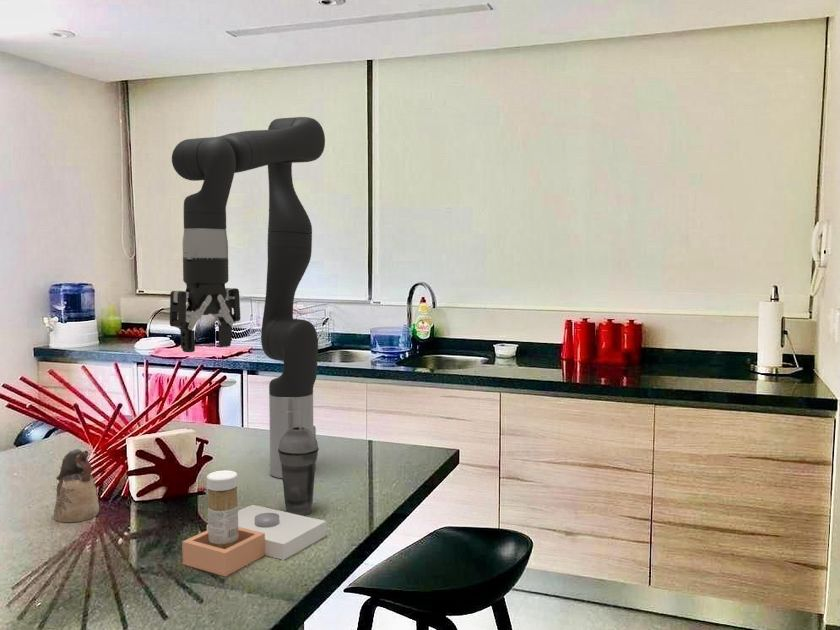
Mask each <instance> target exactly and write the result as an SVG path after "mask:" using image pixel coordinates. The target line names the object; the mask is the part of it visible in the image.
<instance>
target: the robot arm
mask: <svg viewBox="0 0 840 630" xmlns="http://www.w3.org/2000/svg"><path fill="white" fill-rule="evenodd" d="M325 147H326V137H325V131H324V129H323V127H322V125H321V123H320V122H319V121H318V120H316V119H314V118H313V117H308V116H295V117H282V118H281V117H280V118H275V119H273V120H272V121H271V122H270V124H269V126H268V128H267V129H259V130H258V129H257V130H255V129H254V130H243V131H237V132H233V133H232V132H231V133H227V134H224V135H220V136H213V137H212V136H210V137H197V138H189V139H188V138H186V139H184V140H182V141H180V142H179V143H178V144H177V145H176V146H175V147H174V149H173V150H172V154H171V164H172V167H173V169H174V171H175V172H176V173H177V175H178V176H180V177H182V178H183V179H185V180H186V181H187V180H188V181H197V182H198V181H203V183H202V186H201V188H200V190H199V191H197V192H196V193H193V194H192V193H191V194H189V195H188V196H186V197H185V199H184V201H183V236H182V237H183V238H182V276H183V277H182V281H183V283H185V286H186V289H185V291H184V290H171V291H170V296H169V297H170V298H169V325H170V327H174V328H177V329H179V331H180V346H181V347H180V348H181V349H182V352H184V353H194V352H195V351H196V349H195V348H196V343H195V342H196V339H195V335H196V333H195V330H194V328H195V326H196V324H197V322H198V321H199V320H201V319H202V317H203V316H207V315H211V316H213V317H215V319H216V320H217V323H218V324H219V325H218V346H219V347H223V348H227V347H230V346H231V344H232V337H233V335H232V332H233V331H232V330H233V329H232V327H233V325H234V323H236V322H240V321H241V304H240V303H241V302H240V291H239V288H237V287H236V288H233V287H232V288H230V287H226V284H227V283H228V282H229V242H228V235H227V203H228V200H229V196H230V192H231V188H232V184H233V180H234V177H235V174H236V173H237V174H239V173H243V172H246V171H250V170H251V171H252V170H253V169H258V168H262V167H265V166H267V174H268V175H267V176H268V221H267V222H268V226H267V267H266V268H267V270H266V271H267V272H266V288H265V300H264V307H263V316H262V321H261V322H262V323H261V331H260V332H261V333H260V343H261V347H262V350H263V352H264V354H265V356H267V358H268V359H271V360H273V361H274V360H275V361H278V362H279V361H281V362H283V366H282V367H283V368H282V373H281V375H279V376H278V377H276V378H273V379H271V380H270V381H269V387H268V389H269V390H268V391H269V392H268V395H269V396H268V397H269V399H268V400H269V474H270V476H272V477H274V478H279V479H283V477H282V466H281V462H280V457H279V452H278V449H279V444H280V440H281V438H282V436H283V435H284V434H285V433H286V432H287V431H288V430H290V429H292V428H294V427H299V422H300V407H301V404H303V420H302V427H304V428H306V429H308V430H310V431H311V432H312V433H313V434H314V436H315V438H316V439H317V435H316V433H317V429H316V428H317V427H316V426H315V425H314V385H315V383H316V379H317V374H318V358H319V357H318V356H319V338H318V332H317V329H316V328H315V326H314V324H313V323H312V322H310V321H309V320H308V319H307V320H306V319H302V318H301V319H300V318H294V300H295V296H296V295H295V294H296V291H297V289H298V286H299V284H300V282H301V281H302V279H303V277H304V274H305V273H306V270H307V268H308V266H309V265H310V264H309V263H310V261H311V257H312V248H313V246H312V245H313V227H312V222H311V220H310V218H309V216H308V212H306V209H305V207H304V206H303V204H302V202H301V201H300V198H299V197H298V194H297V192H296V191H295V188H294V182H293V172H292V171H293V170H292V169H293V168H292V167H293V164H296V163H310V162H314V161H316V160H318V159H319V158H320V157H321V156H322V155H323V153H324V151H325ZM316 469H317V464H316V465H315V470H316Z"/></svg>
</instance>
